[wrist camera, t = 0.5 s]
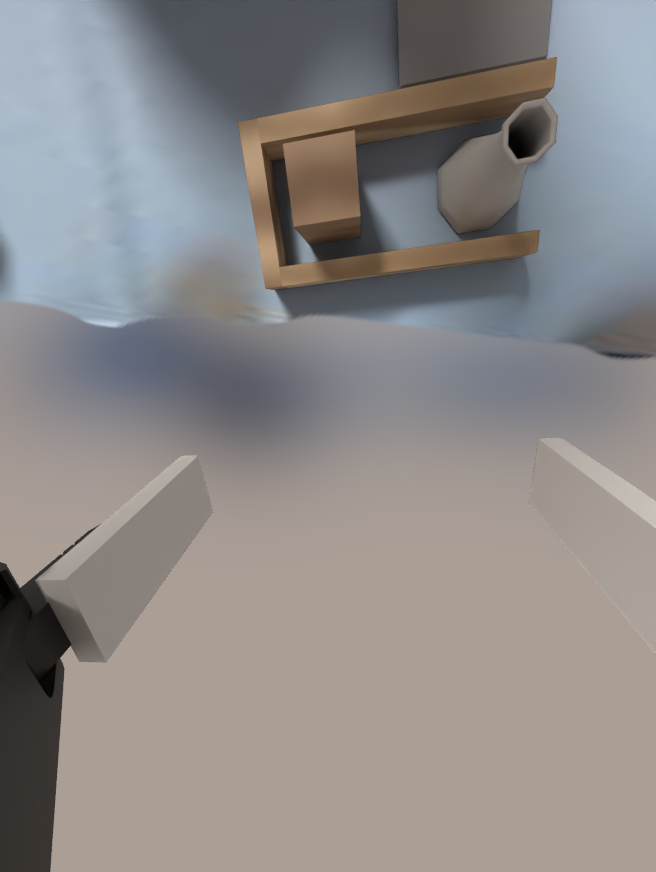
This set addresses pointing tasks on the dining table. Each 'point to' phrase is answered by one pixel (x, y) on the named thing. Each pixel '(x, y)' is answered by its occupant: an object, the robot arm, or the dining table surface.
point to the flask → (494, 168)
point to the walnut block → (324, 187)
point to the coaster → (468, 37)
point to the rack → (378, 122)
